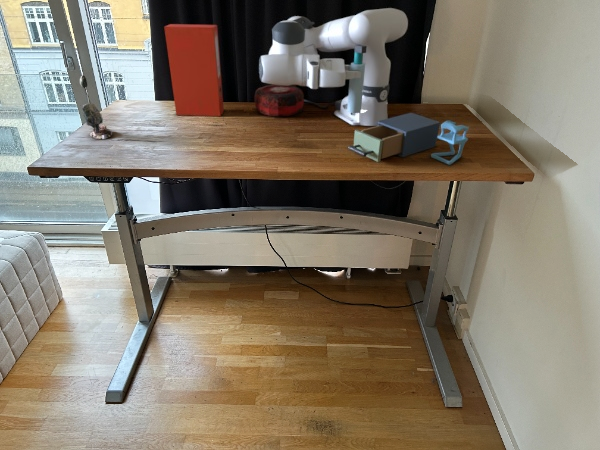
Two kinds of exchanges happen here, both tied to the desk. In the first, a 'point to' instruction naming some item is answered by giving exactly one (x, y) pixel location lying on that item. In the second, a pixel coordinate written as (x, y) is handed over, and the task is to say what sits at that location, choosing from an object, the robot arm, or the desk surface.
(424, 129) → the cabinet
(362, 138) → the drawer
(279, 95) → the red flat cylinder
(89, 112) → the plant with pod
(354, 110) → the spray bottle
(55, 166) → the desk surface
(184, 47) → the file binder
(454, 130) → the chair
